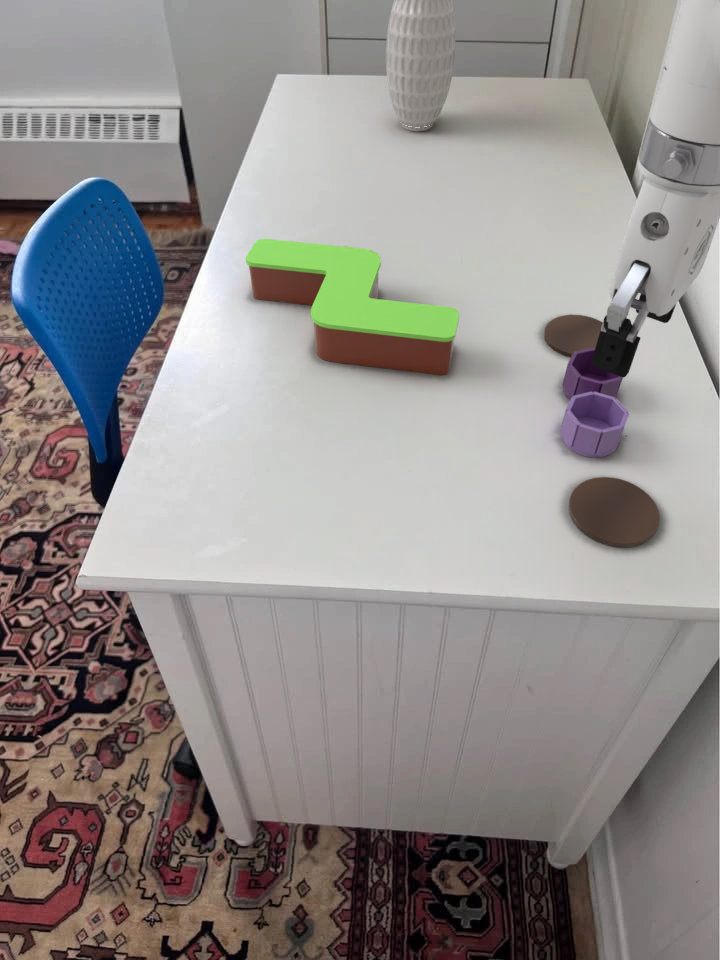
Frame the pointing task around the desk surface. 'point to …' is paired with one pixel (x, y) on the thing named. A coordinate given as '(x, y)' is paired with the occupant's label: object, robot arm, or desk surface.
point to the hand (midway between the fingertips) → (631, 342)
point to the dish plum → (588, 376)
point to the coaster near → (613, 512)
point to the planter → (353, 307)
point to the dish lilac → (593, 424)
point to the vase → (420, 59)
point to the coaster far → (572, 333)
